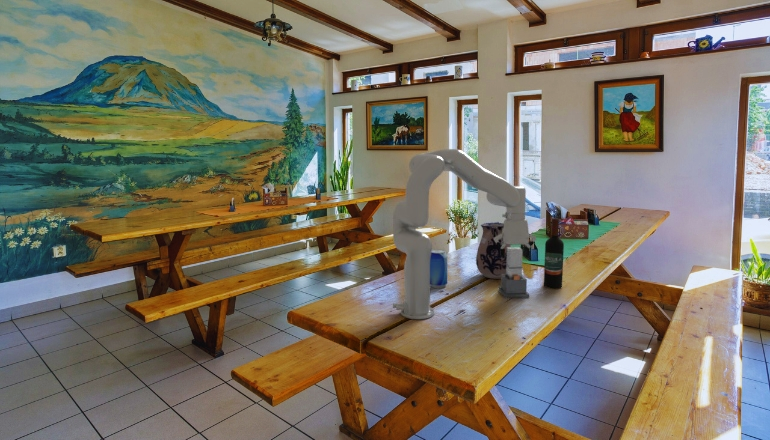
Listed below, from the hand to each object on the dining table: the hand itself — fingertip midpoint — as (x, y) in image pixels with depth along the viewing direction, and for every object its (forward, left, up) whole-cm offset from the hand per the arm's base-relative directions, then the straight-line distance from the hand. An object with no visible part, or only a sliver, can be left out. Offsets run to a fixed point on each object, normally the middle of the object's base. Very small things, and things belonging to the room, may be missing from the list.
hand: (514, 257), depth 191 cm
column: (0, 0, -14) cm, 14 cm away
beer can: (-30, +14, -16) cm, 37 cm away
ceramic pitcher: (-1, +27, -16) cm, 32 cm away
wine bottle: (+20, +9, -16) cm, 27 cm away
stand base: (0, 0, -16) cm, 16 cm away
